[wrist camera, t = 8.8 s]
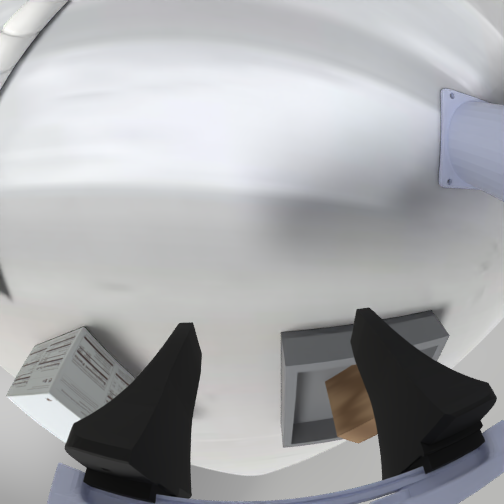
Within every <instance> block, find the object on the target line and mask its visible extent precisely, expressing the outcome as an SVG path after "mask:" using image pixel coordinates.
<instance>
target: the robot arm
mask: <svg viewBox="0 0 504 504" xmlns="http://www.w3.org/2000/svg"><path fill="white" fill-rule="evenodd" d="M450 94H451V96H452V97H450ZM448 179H449V182H448V183H447V181H448ZM438 181H439V185H440V186H442V187H445V188H463V189H477V190H482V191H484V192H486V193H488V194H490V195H492V196H494V197H496V198H498V199H499V200H501V201H503V202H504V105H499V104H492V103H489V102H486V101H484V100H481V99H478V98H475V97H472V96H469V95H467V94H463V93H460V92H457V91H454V90H451V89H447V88H443V89H442V90H441V154H440V169H439V180H438ZM350 343H351V347H352V351H353V355H354V359H355V362H356V365H357V367H358V370H359V372H360V375H361V378H362V380H363V383H364V385H365V388H366V391H367V393H368V396H369V399H370V402H371V405H372V409H373V413H374V418H375V422H376V428H377V433H378V439H379V446H380V454H381V464H382V481H379V482H375V483H372V484H368V485H364V486H361V487H357V488H352V489H348V490H344V491H339V492H334V493H329V494H323V495H317V496H311V497H303V498H296V499H286V500H274V501H273V500H272V501H248V502H247V501H246V502H245V501H244V502H238V501H236V502H235V501H234V502H233V501H232V502H231V501H208V500H196V499H189V498H190V497H191V496H192V494H191V474H190V451H191V428H192V417H193V411H194V406H195V400H196V395H197V390H198V385H199V379H200V374H201V359H202V353H201V350H200V346H199V343H198V339H197V335H196V332H195V328H194V325H193V323H179V324H178V325H177V327H176V328H175V330H174V331H173V333H172V334H171V335H170V337H169V338H168V340H167V341H166V342H165V344H164V345H163V347H162V348H161V349H160V350H159V352H158V353H157V354H156V356H155V357H154V358H153V360H152V361H151V362H150V363H149V364H148V365H147V367H146V368H145V369H144V370H143V371H142V372H141V373H140V375H139V376H138V377H137V378H136V379H135V380H134V381H133V382H132V383H131V384H130V385H129V386H128V387H126V388H125V389H124V390H123V391H122V392H121V393H120V394H118V395H117V396H116V397H115V398H113V399H112V400H111V401H110V402H108V403H107V404H105V405H104V406H103V407H101V408H100V409H98V410H96V411H95V412H93V413H92V414H90V415H88V416H86V417H84V418H83V419H81V420H79V421H77V422H75V423H74V424H73V426H72V428H71V431H70V433H69V436H68V439H67V442H66V445H65V450H66V452H67V453H68V454H69V455H70V456H71V457H73V458H74V459H75V460H77V461H78V462H80V463H81V464H82V465H84V466H85V467H86V468H87V469H86V473H84V472H82V471H80V470H78V469H75V468H72V467H70V466H67V465H65V464H62V463H58V466H57V469H56V473H55V476H54V479H53V483H52V486H51V490H50V494H49V497H48V501H47V504H358V503H361V502H365V501H369V500H372V499H376V498H379V497H382V496H385V495H389V494H391V495H389V496H386V497H384V498H381V499H378V500H375V501H373V502H371V503H370V504H458V503H460V502H461V501H463V500H464V499H466V498H468V497H469V496H471V495H472V494H474V493H475V492H477V491H478V490H480V489H481V488H483V487H484V486H485V485H487V484H488V483H490V482H491V481H493V480H494V479H495V478H497V477H498V476H499V475H501V474H502V473H503V472H504V421H503V420H501V421H500V422H498V423H497V424H495V425H494V426H492V427H490V428H489V429H487V430H486V431H485V432H483V433H481V431H480V429H481V428H482V426H483V425H482V423H481V421H480V420H481V419H482V418H483V417H484V416H485V415H486V414H487V413H488V412H489V410H490V409H491V408H492V407H493V405H494V404H495V402H496V399H497V398H496V395H495V394H494V392H493V390H492V389H491V387H490V385H489V383H487V382H483V381H480V380H476V379H474V378H470V377H468V376H465V375H463V374H461V373H458V372H456V371H454V370H452V369H450V368H448V367H446V366H444V365H442V364H440V363H439V362H437V361H435V360H433V359H432V358H430V357H429V356H427V355H426V354H424V353H423V352H421V351H420V350H418V349H417V348H416V347H414V346H413V345H412V344H410V343H409V342H408V341H407V340H405V339H404V338H403V337H402V336H401V335H399V334H398V333H397V332H396V331H395V330H394V329H392V328H391V327H390V326H389V325H388V324H387V323H386V322H385V321H383V320H382V319H381V318H380V317H379V316H378V315H377V314H376V313H375V312H374V311H372V310H371V309H370V308H363V309H357V311H356V316H355V321H354V326H353V331H352V336H351V340H350ZM394 492H395V493H394ZM392 493H394V494H392Z"/></svg>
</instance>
